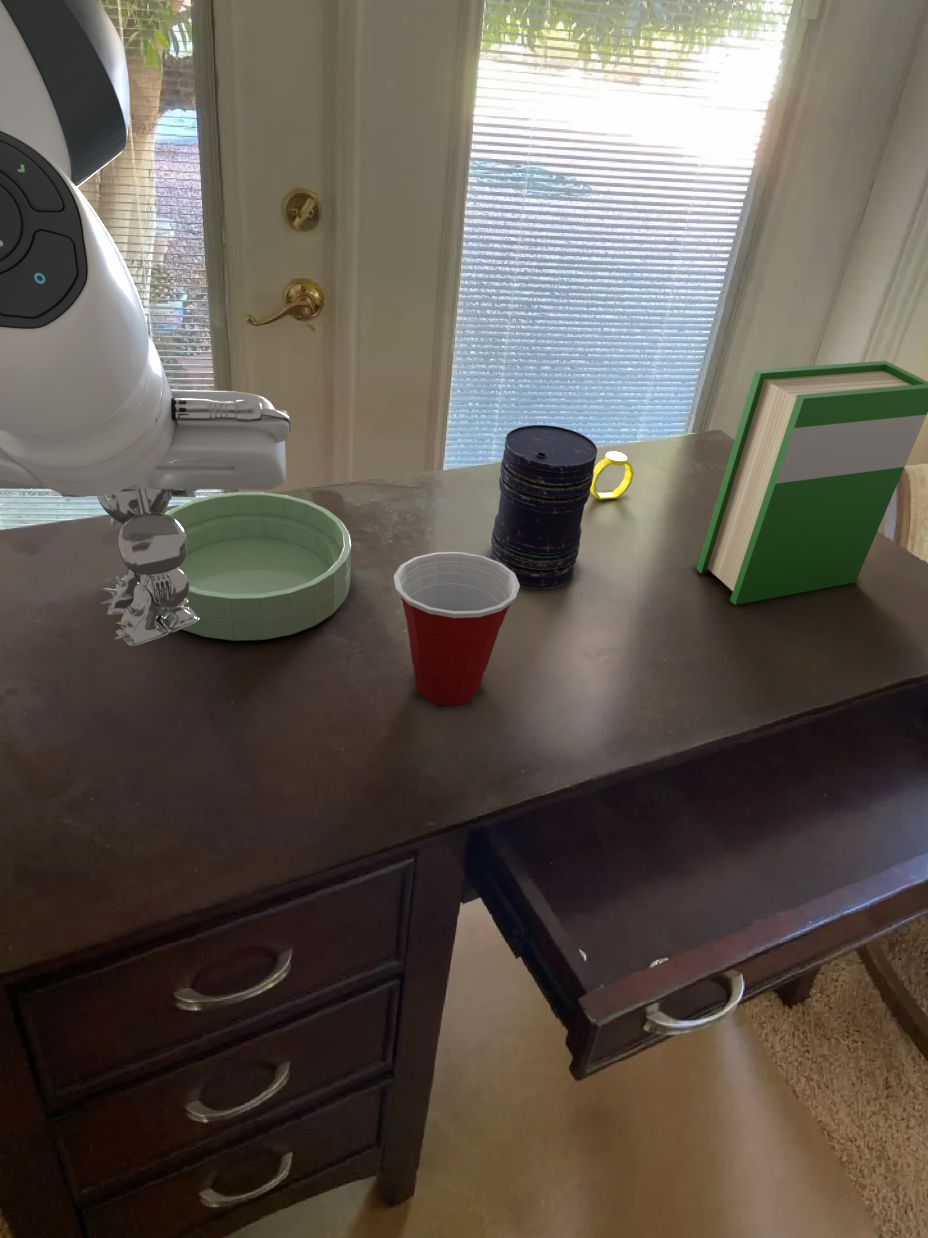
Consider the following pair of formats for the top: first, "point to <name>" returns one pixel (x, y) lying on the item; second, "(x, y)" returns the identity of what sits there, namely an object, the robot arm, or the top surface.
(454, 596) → the plastic cup
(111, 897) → the top surface
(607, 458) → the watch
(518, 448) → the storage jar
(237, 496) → the bowl
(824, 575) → the hardback book
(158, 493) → the robot toy
